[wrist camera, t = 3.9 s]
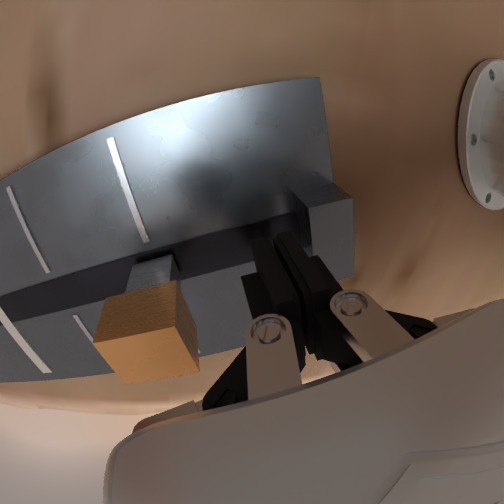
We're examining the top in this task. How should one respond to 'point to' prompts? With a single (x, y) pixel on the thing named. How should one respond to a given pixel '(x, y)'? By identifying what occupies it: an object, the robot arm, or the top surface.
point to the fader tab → (149, 326)
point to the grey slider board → (164, 219)
